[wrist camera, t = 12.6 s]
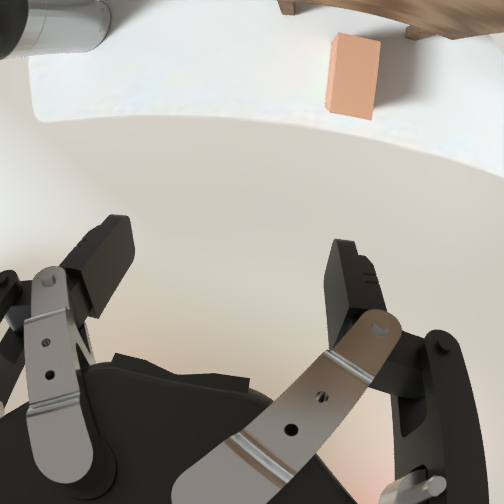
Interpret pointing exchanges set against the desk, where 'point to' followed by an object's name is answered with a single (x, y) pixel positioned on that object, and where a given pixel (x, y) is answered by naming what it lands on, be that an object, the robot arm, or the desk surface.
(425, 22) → the walnut cabinet
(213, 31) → the desk surface
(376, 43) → the terracotta block
